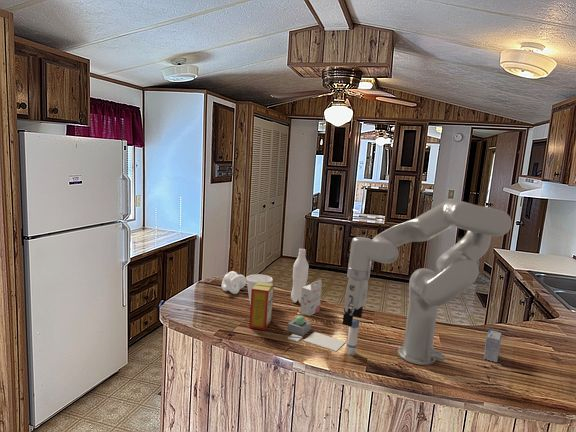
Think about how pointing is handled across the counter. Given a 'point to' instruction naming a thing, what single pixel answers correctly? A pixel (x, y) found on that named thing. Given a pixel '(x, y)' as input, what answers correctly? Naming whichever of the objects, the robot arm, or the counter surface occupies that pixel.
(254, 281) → the cup
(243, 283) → the white lumpy rounded part
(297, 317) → the button
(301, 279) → the water bottle
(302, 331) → the button housing
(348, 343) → the marker
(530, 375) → the counter surface
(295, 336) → the card
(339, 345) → the paper
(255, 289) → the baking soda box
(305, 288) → the ink cartridge box
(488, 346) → the medicine box
